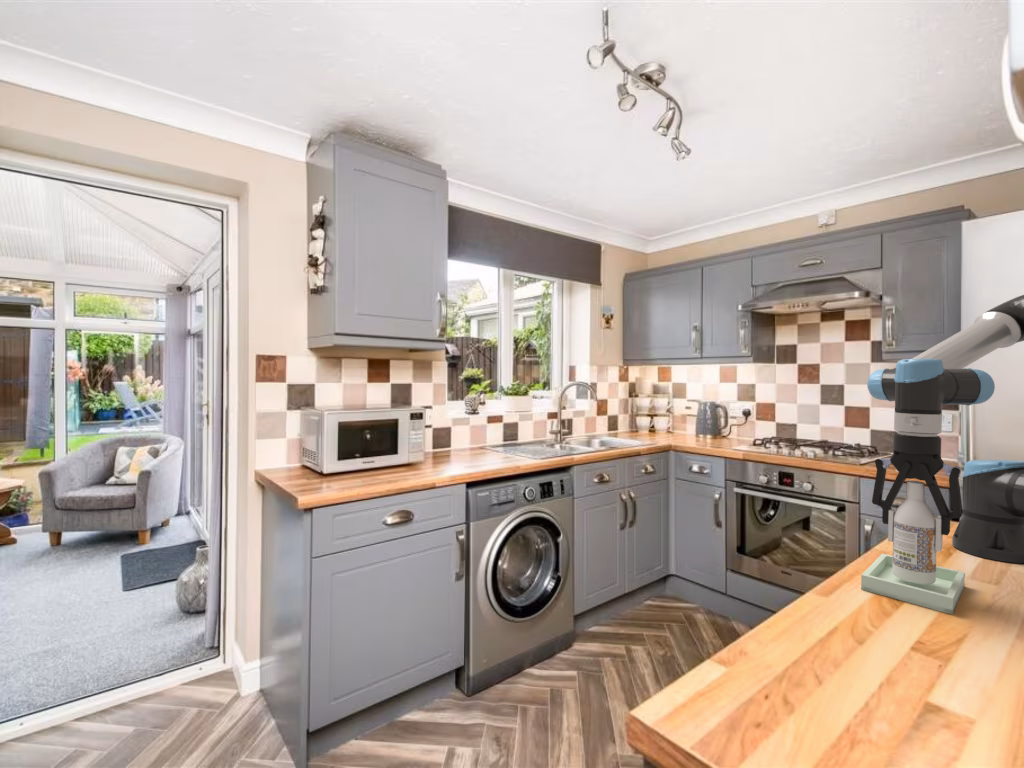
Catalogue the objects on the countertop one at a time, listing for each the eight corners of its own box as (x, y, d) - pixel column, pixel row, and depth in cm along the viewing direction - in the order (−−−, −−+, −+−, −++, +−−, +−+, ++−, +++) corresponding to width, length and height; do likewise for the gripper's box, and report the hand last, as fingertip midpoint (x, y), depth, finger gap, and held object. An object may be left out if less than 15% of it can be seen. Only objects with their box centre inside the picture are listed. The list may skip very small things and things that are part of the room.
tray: (881, 566, 112) (882, 553, 112) (964, 586, 102) (964, 572, 102) (861, 589, 100) (861, 574, 100) (952, 614, 90) (953, 598, 90)
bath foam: (933, 588, 96) (935, 487, 96) (889, 578, 101) (891, 481, 101) (937, 578, 101) (939, 482, 100) (895, 568, 106) (897, 477, 105)
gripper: (854, 430, 105) (852, 536, 106) (982, 440, 90) (978, 563, 91) (863, 428, 110) (861, 529, 111) (985, 437, 95) (982, 553, 96)
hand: (914, 544), depth 101 cm, fingers closed on bath foam, 7 cm apart
